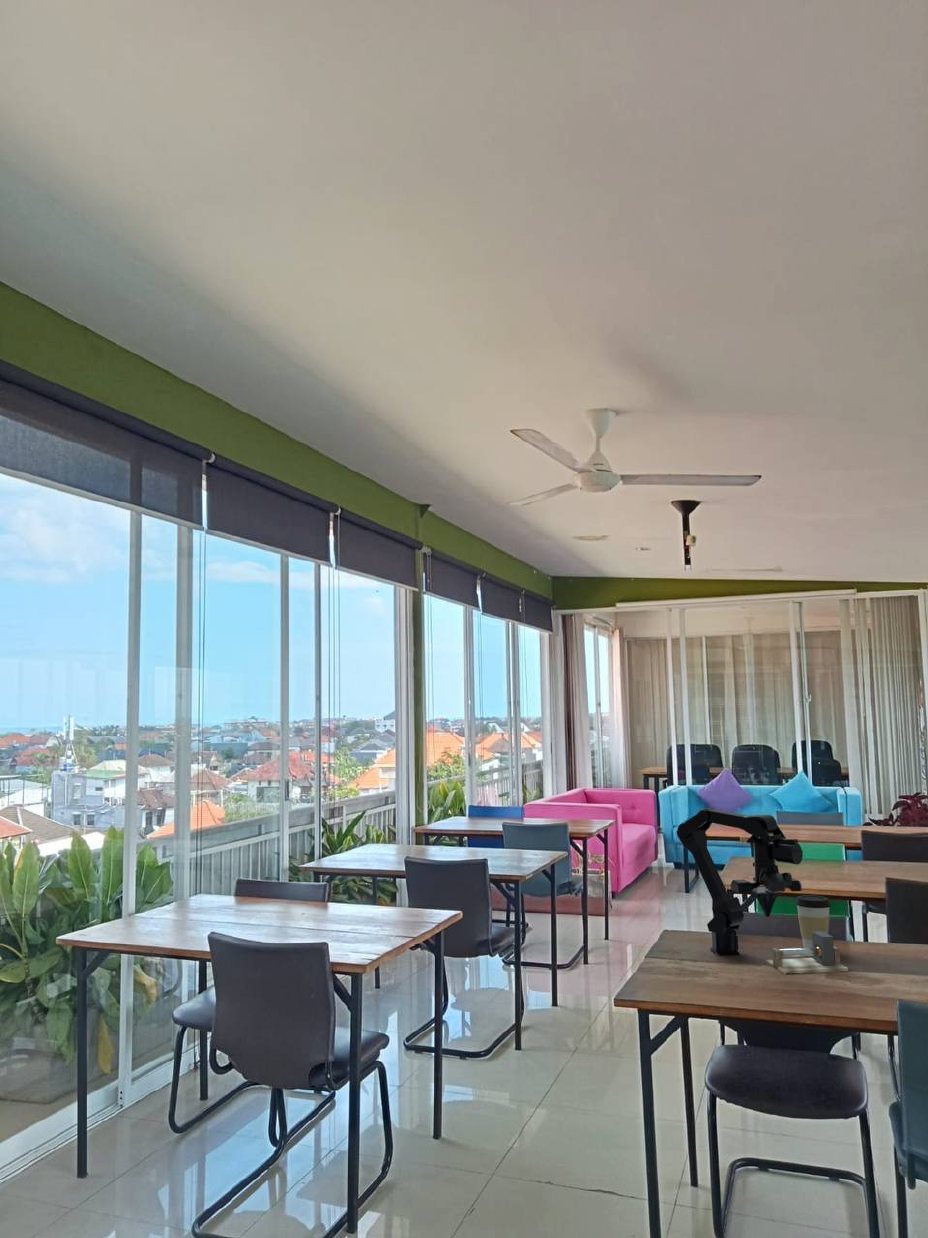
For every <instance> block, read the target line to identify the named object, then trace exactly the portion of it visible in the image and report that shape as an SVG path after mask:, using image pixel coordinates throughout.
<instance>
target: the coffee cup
mask: <svg viewBox="0 0 928 1238" xmlns="http://www.w3.org/2000/svg"><path fill="white" fill-rule="evenodd" d="M795 905H796V908H797V912H798V913H797V916H798V923H799V929H800V936H801V938H802V939H801V940H802V944H803V948H813V945H812V932H818V931H822V932H824V933H827V934H829V924H830V907H832V905H831V902H830V901H829V898H828V897H826V896H822V895H816V894H814V895H813V894H804V895H803V894H802V895H798V896H797V899H796V901H795Z"/></svg>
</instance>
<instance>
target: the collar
mask: <svg viewBox="0 0 928 1238" xmlns="http://www.w3.org/2000/svg"><path fill="white" fill-rule="evenodd" d="M812 945H813V948H816V947H821V956H817V955H815V956H812V958H813V959H814V960H816V961H818V962H820V963H822V964H823V965H832V964H834V946H835V945H834V936H833V935H831V934H829V933H828V934H827V933H824V932H822V931H818V932H812Z"/></svg>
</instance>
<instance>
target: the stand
mask: <svg viewBox="0 0 928 1238" xmlns="http://www.w3.org/2000/svg"><path fill="white" fill-rule="evenodd" d="M771 949H772V950H771V951H772V952H771V953H772V959H766V964H767V965H770V966H771V967H773V968H774V969H776V970H778V971H779V972H780V973H783V974H784V973H799V974H816V973H836V972H837V973H839V972H848V971H849V968H848V967H847V966H845V965H843V964H841V956H840V948H839V947H837V946H836V945H834V964H832V965H823V964H822V963H820V962H818V961H816V960H814V959H813V957H803V958H784V959H783V957H782V951H781V950H780V949H779V948H777V947H773V948H771ZM773 950H775V951H776V954H777V955H776V957H774V955H775V952H774V951H773ZM773 954H774V955H773Z"/></svg>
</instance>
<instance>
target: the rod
mask: <svg viewBox="0 0 928 1238" xmlns="http://www.w3.org/2000/svg"><path fill="white" fill-rule="evenodd" d="M780 950H781V951H782V958H788V957H789V958H790V957H791V958H792V957H809V956H810V957H811V956H812V957H813V956H815V955H817V956H821V947H816V948H804V947H802V948H781V949H780ZM773 951H774V952H775V955H774V954H773V955H774V957H776V955H777V954H776V951H775V950H773ZM773 955H772V956H773Z"/></svg>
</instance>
